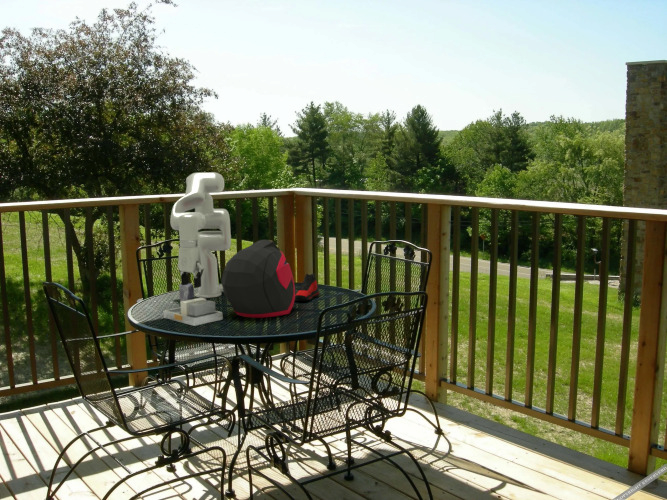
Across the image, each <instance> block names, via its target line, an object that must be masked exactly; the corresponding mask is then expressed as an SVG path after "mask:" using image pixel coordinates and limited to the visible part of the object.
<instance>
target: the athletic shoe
mask: <svg viewBox="0 0 667 500" xmlns="http://www.w3.org/2000/svg"><path fill="white" fill-rule="evenodd" d="M315 277H316V274H315V273H311V274H308V273H306V274H305V276H304V278H303V279H304V280H303V281H302V283H301V285H300V288H299V290H297V292H296V293H295V300H294V301H298V302H310V301H312V299H314V297H315V298H317V297H319V296H320V291H319V287H318V281H317V279H316V278H315Z"/></svg>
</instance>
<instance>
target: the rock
mask: <svg viewBox="0 0 667 500" xmlns="http://www.w3.org/2000/svg"><path fill="white" fill-rule="evenodd" d="M178 288H179V289H178V290H179V295H178V296H179V305H181V303H180V302H182V301H187V300H192V299H195V297H194V296H195V290H194V289H195V288H194V283H190V282H189V284H187V285H181V283H180V284H179V285H178Z"/></svg>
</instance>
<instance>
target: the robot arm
mask: <svg viewBox="0 0 667 500" xmlns="http://www.w3.org/2000/svg"><path fill="white" fill-rule="evenodd" d="M185 180H186V182H185V184H186V188H185V189H186V190H185V195H184V196H182V197H180V198H179V199H178V200H177V201H176V202H175V203H174V205H173V206H172V208H171V213H170V220H169V221H170V227H171V228H172V230H175V231H178V232H179V249H178V260H177V261H178V263H177V268H178V272H179V276H180V284H181V285H187V284H189V283H190V282H189V274H191V273H192V275H193V288H194V289H197V288H198V289H197V290H198V291H197V292H196V293H194V296H195V297H196V298H204V299H209V298H217V297H221V296H222V291H223V286H222V285H219V281H218V279H219V278H218V277H219V276H218V259H217V257H216V256H215V255H214V253H213V251H215V252H217V251H228V250H230V249H231V246H232V234H231V219H230V214H229V213H230V212H229V211H228V209H226V208H214V198H213V196H212V195H211V193H213V194H214V193H217V194H218V193H222V192H223V191H224V189H225V180H224V177H223V175H222V174H220V173H218V172H213V171H211V172H209V171H208V172H206V171H205V172H202V171H201V172H193V173H191V174H190V175H188V176H187V177H186V179H185ZM193 209H194V212H193V211H191V210H193ZM190 211H191V212H190ZM202 229H204V231H200V230H202ZM205 229H206V230H205ZM207 229H213V230H207ZM214 229H219V230H214ZM188 273H189V274H188Z"/></svg>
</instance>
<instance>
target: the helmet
mask: <svg viewBox="0 0 667 500" xmlns="http://www.w3.org/2000/svg"><path fill="white" fill-rule="evenodd" d="M286 259H287V257H285V254H284V253H283V251H281V250H280V248H279V247H278V245H277V244H276V243H275V242H274V241H273V240H270V239H260V240H258V241H256V242H254V243H252V244H250V245H249V246H247V247H245V248H242V249H240V250H239V251H238V252H236V253H235V254H233V256H232V257H230V259H229V260H227V262H226V263H225V267H224V269H223V273H222V275H221V279H220V281H221V286H223V290H222V291H223V295H224V296H225V297H226V299H227V301H228V303H229V304H230V306H231V307H232V309H233V312H234V313H235V314H236V315H238V316H241V317H245V318H254V319H255V318H257V319H258V318H263V319H265V318H273V317H278V316H283V315H288V314H290V313H291V311H292V309H293V307H294V303H295V301H296V300H295V295H296V287H295V280H294V276H293V272H292V269H291V265H290V263H288V262H287V261H286Z"/></svg>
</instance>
